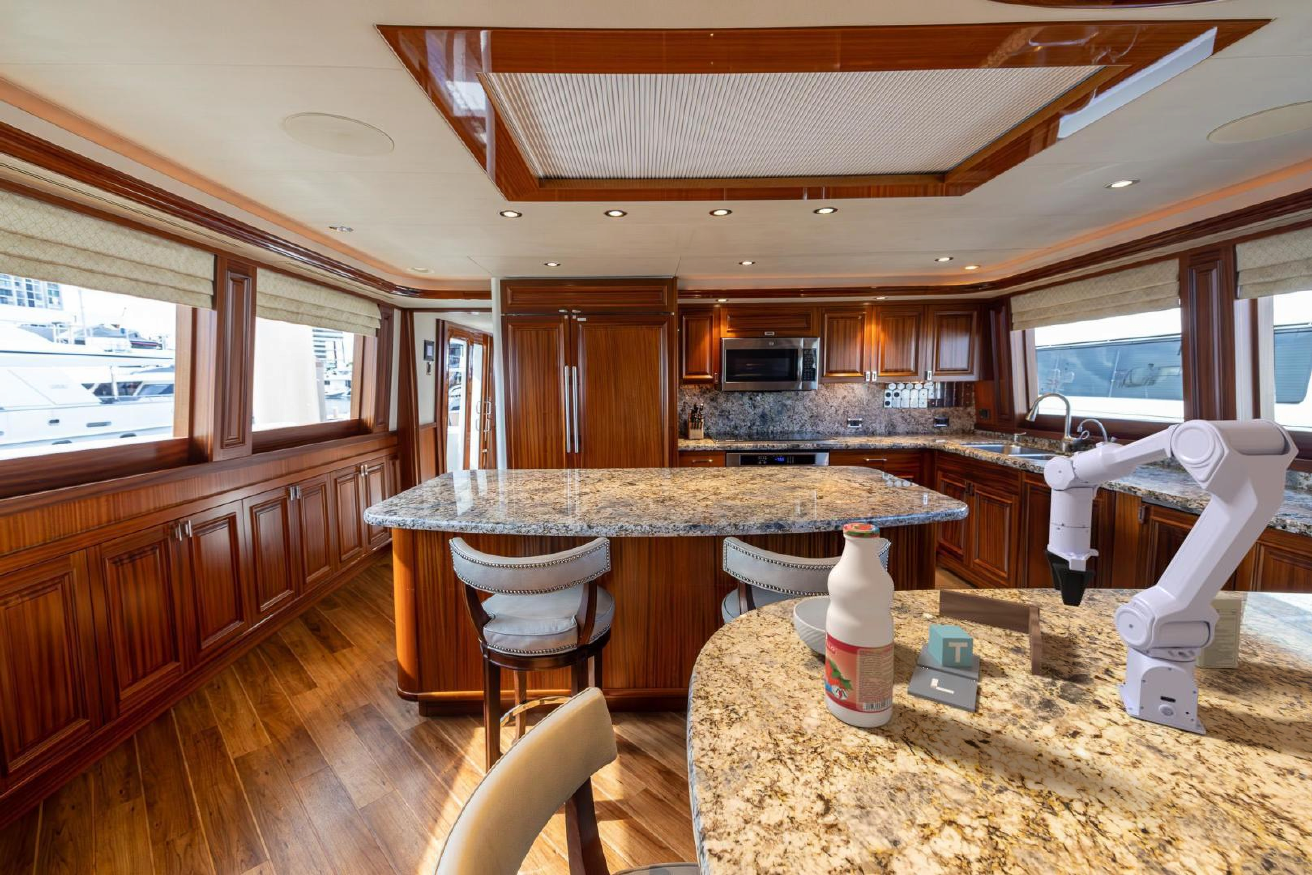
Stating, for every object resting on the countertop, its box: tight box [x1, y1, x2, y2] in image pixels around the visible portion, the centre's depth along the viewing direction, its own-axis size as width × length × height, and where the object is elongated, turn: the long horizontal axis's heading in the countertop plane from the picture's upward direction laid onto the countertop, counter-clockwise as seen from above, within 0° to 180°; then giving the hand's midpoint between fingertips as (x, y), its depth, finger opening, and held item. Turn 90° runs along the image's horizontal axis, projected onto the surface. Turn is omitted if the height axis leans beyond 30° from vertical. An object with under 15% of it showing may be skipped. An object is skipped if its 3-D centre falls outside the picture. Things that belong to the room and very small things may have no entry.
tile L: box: [906, 665, 978, 714], centre depth 82 cm, size 9×9×1 cm
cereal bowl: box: [793, 595, 831, 656], centre depth 95 cm, size 17×17×7 cm
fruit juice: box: [824, 522, 895, 729], centre depth 76 cm, size 9×9×28 cm
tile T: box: [916, 642, 981, 683], centre depth 90 cm, size 9×9×1 cm
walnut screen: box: [938, 588, 1043, 677], centre depth 97 cm, size 19×17×6 cm
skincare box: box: [1195, 590, 1242, 669], centre depth 89 cm, size 6×4×12 cm
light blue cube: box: [928, 624, 974, 667], centre depth 90 cm, size 5×5×5 cm
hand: (1066, 597), depth 93 cm, fingers open, 7 cm apart
